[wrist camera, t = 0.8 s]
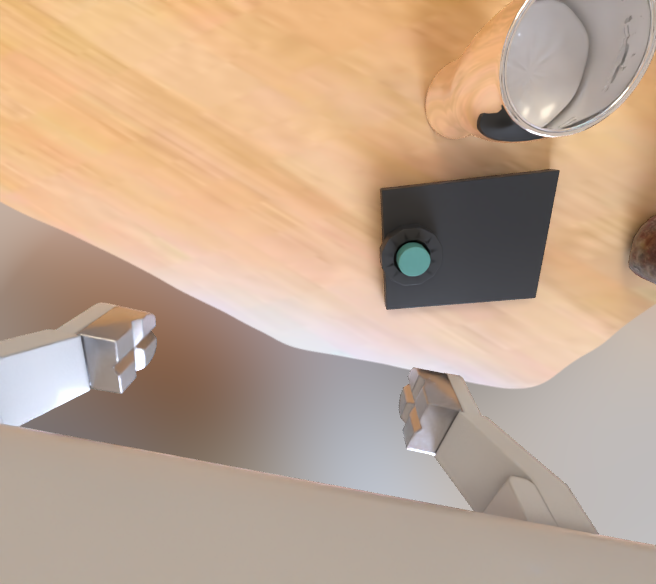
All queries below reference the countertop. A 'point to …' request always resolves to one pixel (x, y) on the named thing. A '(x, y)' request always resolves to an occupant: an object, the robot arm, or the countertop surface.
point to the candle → (644, 251)
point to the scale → (468, 238)
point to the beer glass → (544, 70)
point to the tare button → (413, 259)
